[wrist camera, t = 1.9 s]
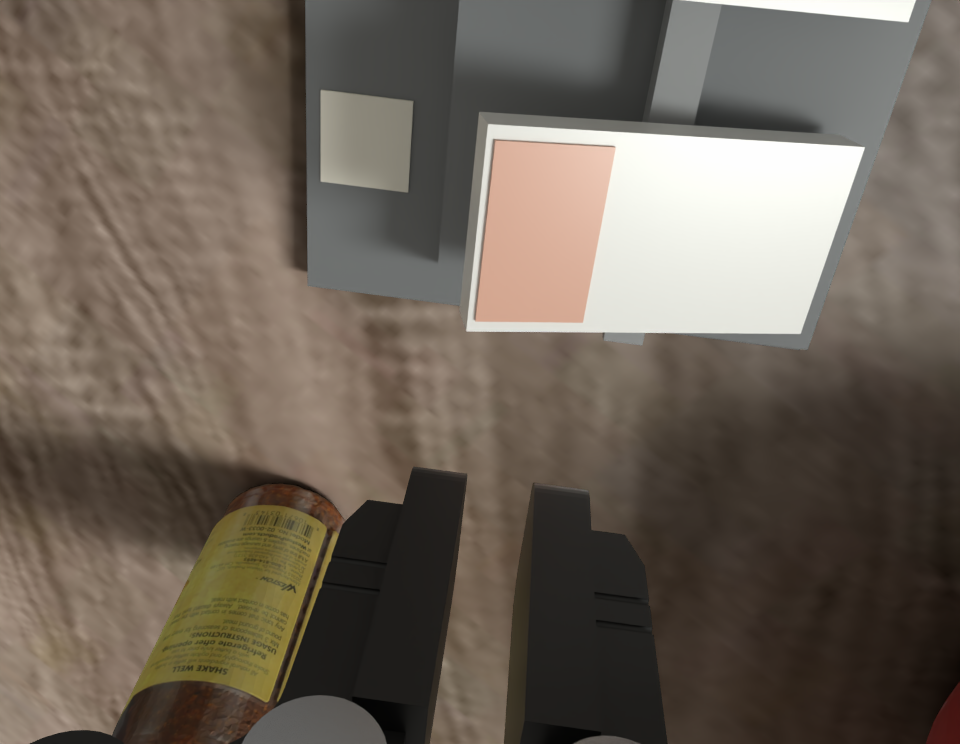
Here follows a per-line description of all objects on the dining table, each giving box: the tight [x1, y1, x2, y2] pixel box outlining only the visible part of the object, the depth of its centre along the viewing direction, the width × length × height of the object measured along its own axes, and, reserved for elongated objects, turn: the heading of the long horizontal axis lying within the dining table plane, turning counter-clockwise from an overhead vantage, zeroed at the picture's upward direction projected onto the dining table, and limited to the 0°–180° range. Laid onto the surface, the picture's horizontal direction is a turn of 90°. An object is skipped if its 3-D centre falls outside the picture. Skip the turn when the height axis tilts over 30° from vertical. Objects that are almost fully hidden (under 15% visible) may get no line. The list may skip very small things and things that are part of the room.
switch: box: [460, 112, 865, 334], centre depth 22 cm, size 10×6×1 cm, turn 84°
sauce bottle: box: [112, 483, 345, 744], centre depth 28 cm, size 7×6×20 cm
